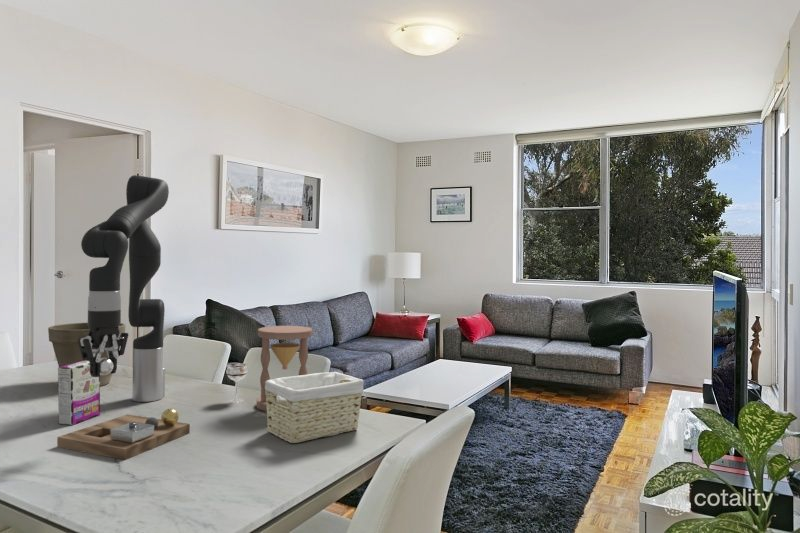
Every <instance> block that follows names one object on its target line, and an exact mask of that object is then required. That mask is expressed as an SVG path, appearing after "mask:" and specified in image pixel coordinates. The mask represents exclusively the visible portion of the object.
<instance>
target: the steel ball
mask: <svg viewBox="0 0 800 533" xmlns="http://www.w3.org/2000/svg"><path fill="white" fill-rule="evenodd" d="M99 362H100V375H107V374H109V373H110V372H111V371H112V370H113V362H112V361H111V360H110V359H108V358H101V359H100V361H99Z"/></svg>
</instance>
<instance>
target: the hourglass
mask: <svg viewBox="0 0 800 533" xmlns="http://www.w3.org/2000/svg"><path fill="white" fill-rule="evenodd" d="M313 334H314V333H313V329H312V327H309V326H301V325H271V326H269V325H268V326H264V327H260V328H257V337H259V338H260V339H261V352H260V363H261V368H262V370H261V374H260V378H259V383H260V388H261V390H260V396H259V397H258V398H256V405H255V406H256V408H257V409H258V410H260V411H263V412H266V411H267V402H266V393H265V391H266V389H265V382H266V381H267V380H271V378H270V373H269V365H270V361H271V352H270V348H271V350H272V352H273V354H274V356H275V357H276V358H277V359H278V361H279V362H280V364H281V366H282V367H281V368H282V370H288V365H289V364H290V362H291V361H292V360H293V358H294V357H295V355H296V353H297V352H298V359H299V362H300V368H299V371H298V376H300V375H307V374H309V373H308V371H307V367H306V366H307V361H308V358H309V355H308V354H309V353H308V352H309V350H308V339H309V338H311V337H312V336H313ZM270 340H277V341H279V340H281V341H282V340H283V341H287V340H289V341H290V340H300V341H299V342H300V343H295V342H279V343H278V342H277V343H272V344H270Z"/></svg>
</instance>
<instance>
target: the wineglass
mask: <svg viewBox="0 0 800 533" xmlns="http://www.w3.org/2000/svg"><path fill="white" fill-rule="evenodd" d="M226 367H227V368H226V375H227V378H229V379H230V380H232V381H234V383H235V398H234V399H230V400H228V403H230V404H240V403H243V402H245V400H244V399H241V398H238V392H239V391H238V389H239V387H238V386H239V383H240V381H242V380H243V379H245V377H246V376H247V375H248V369H247V367H248V364H247V363H241V362H237V363H235V362H234V363H229V364H226Z"/></svg>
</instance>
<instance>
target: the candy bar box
mask: <svg viewBox="0 0 800 533" xmlns="http://www.w3.org/2000/svg"><path fill="white" fill-rule="evenodd" d="M57 381H58V382H57V383H58V384H57V388H58V390H57V391H58V400H57V402H58V424H59V425H62V424H65V425H66V426H75V425H76V424H77V425H78V424H79V423H82V422H84V421H87V420H89V419H92V418H95V417H98V416H100V415H101V386H100V376H99V377H92V376H91V375H90V362H89V361H86V360H85V361H81V362H77V363H73V364H69V365H66V366H62V367H59V366H58V368H57ZM65 425H64V426H65Z"/></svg>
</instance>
